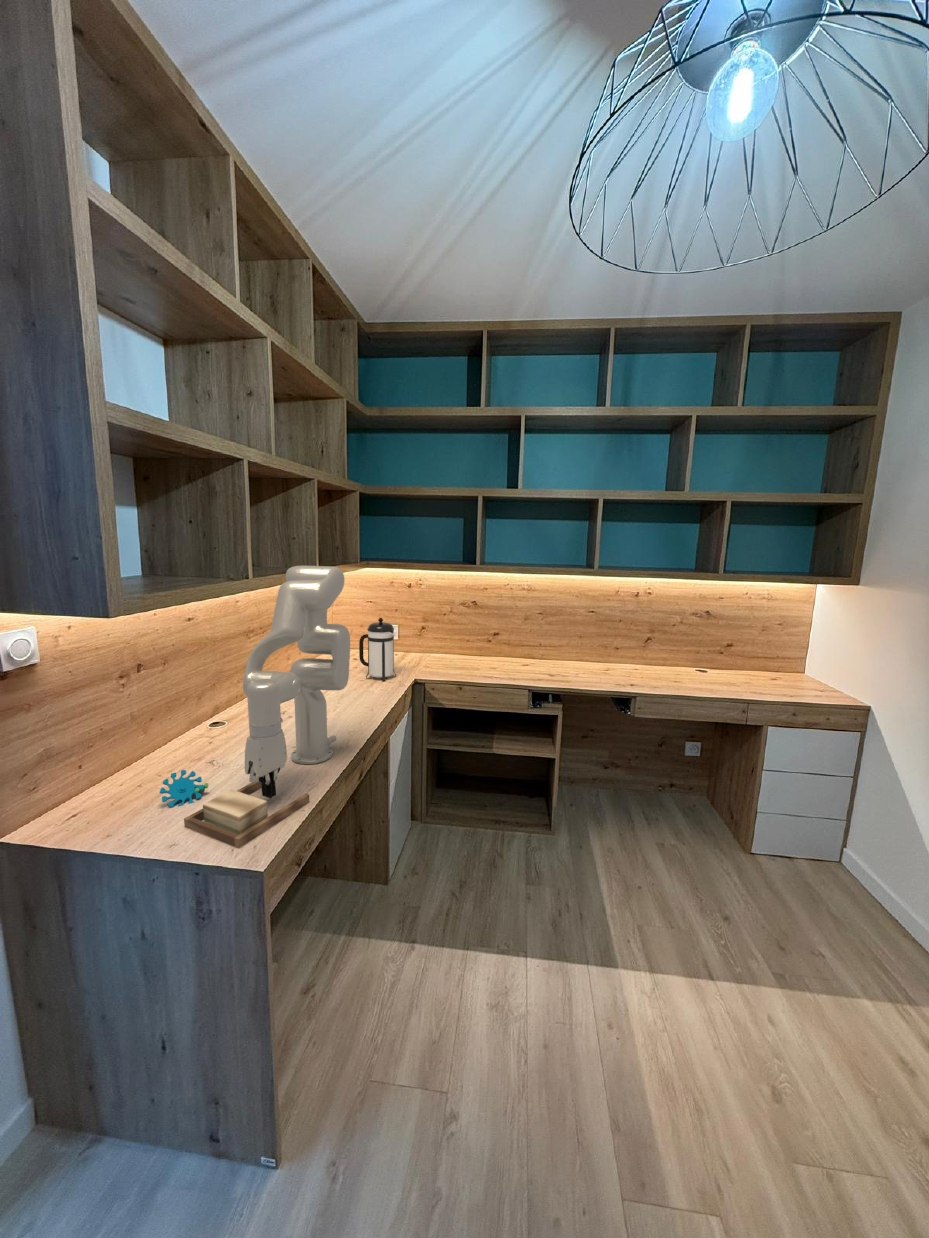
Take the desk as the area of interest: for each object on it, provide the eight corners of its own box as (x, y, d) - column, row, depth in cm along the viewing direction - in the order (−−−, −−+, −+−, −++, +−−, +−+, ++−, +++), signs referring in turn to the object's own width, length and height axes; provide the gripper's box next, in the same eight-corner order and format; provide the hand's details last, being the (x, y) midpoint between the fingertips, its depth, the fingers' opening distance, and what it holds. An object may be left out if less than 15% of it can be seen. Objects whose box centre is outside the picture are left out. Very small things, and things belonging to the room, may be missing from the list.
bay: (259, 789, 138) (258, 779, 138) (309, 805, 131) (309, 794, 130) (184, 830, 119) (183, 818, 118) (239, 851, 111) (238, 839, 111)
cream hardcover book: (232, 807, 127) (231, 789, 126) (268, 819, 122) (267, 800, 121) (204, 823, 120) (202, 804, 119) (240, 837, 115) (239, 817, 114)
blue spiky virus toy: (157, 809, 125) (161, 770, 130) (157, 816, 129) (161, 778, 134) (207, 804, 130) (209, 767, 135) (205, 812, 134) (207, 775, 139)
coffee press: (393, 672, 259) (393, 614, 254) (398, 681, 244) (398, 619, 239) (359, 674, 254) (358, 615, 249) (361, 683, 239) (361, 620, 234)
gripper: (277, 716, 135) (280, 779, 138) (229, 736, 122) (234, 805, 125) (298, 721, 132) (301, 786, 135) (252, 742, 119) (256, 813, 122)
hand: (269, 795), depth 130 cm, fingers closed
